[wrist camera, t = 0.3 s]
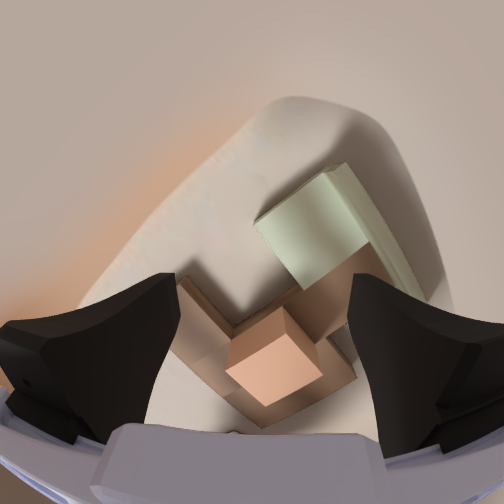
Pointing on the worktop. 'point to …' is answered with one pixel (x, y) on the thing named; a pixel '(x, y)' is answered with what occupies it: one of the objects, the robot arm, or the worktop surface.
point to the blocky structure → (301, 287)
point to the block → (273, 358)
